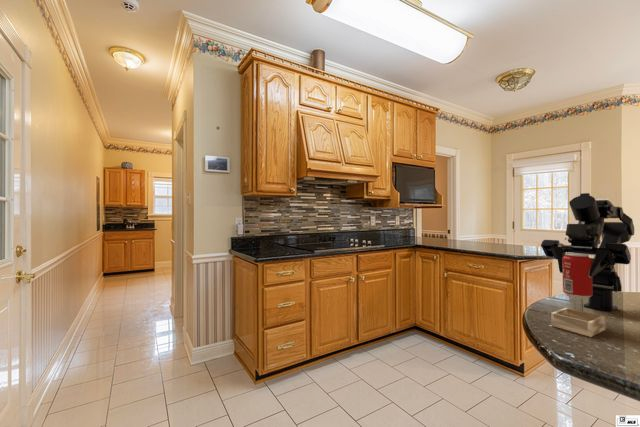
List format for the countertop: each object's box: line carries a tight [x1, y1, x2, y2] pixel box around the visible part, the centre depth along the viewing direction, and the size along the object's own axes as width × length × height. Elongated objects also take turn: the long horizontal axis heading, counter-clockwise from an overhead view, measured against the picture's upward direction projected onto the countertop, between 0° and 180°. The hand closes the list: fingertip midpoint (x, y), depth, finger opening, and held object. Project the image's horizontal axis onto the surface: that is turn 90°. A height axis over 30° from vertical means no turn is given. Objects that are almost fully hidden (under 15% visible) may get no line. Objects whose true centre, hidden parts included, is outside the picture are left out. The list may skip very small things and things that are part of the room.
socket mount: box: [550, 307, 606, 338], centre depth 78 cm, size 8×8×4 cm
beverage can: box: [562, 252, 593, 300], centre depth 82 cm, size 6×6×12 cm
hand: (575, 273), depth 81 cm, fingers closed on beverage can, 6 cm apart
